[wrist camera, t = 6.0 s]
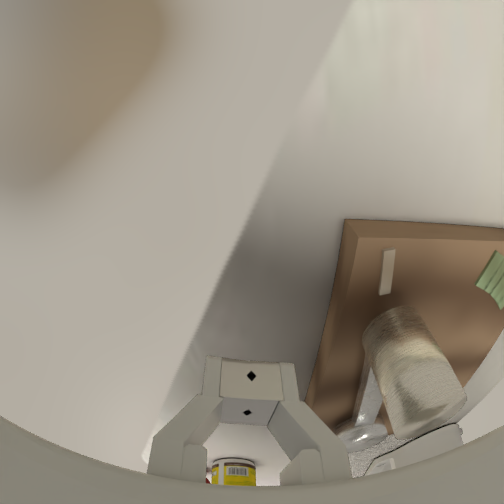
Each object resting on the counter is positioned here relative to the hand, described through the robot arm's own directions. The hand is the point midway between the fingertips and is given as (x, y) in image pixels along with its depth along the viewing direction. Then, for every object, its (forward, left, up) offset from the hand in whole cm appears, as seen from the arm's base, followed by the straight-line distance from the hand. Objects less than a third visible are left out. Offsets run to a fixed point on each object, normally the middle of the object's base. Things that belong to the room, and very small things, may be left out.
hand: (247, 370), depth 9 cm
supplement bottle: (-30, +2, -6) cm, 31 cm away
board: (-8, -13, -6) cm, 17 cm away
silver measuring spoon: (-8, -8, -3) cm, 12 cm away
